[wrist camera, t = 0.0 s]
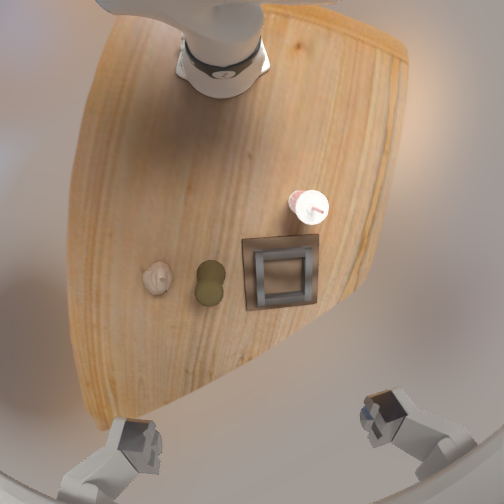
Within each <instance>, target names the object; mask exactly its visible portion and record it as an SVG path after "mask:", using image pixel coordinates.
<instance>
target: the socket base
mask: <svg viewBox="0 0 504 504" xmlns="http://www.w3.org/2000/svg"><path fill="white" fill-rule="evenodd" d="M242 243H243V259H244V274H245V289H246V304H247V311H249V310H260V309H270V308H280V307H289V306H297V305H306V304H314V303H317V291H318V266H319V234H307V235H292V236H277V237H263V238H250V239H242Z"/></svg>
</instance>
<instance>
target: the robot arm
mask: <svg viewBox="0 0 504 504" xmlns="http://www.w3.org/2000/svg"><path fill="white" fill-rule="evenodd" d="M95 1H96V2H97V3H98V4H99V5H100V6H101V7H102V8H103V9H104V10H106V11H107V12H109V13H111V14H113V15H130V16H141V17H147V18H151V19H155V20H158V21H161V22H164V23H166V24H169V25H171V26H173V27H175V28H177V29H178V30H180V31H181V32H182V34H181V39H182V40H183V43H182V45H181V47H180V55H179V59H178V63H177V67H176V74H177V75H178V76H179V77H181V78H183V79H185V80H188V81H189V82H190V83H191V85H192V86H193V87H194V88H195V89H196V90H197V91H199V92H200V93H202V94H204V95H206V96H209V97H213V98H230V97H234V96H237V95H239V94H241V93H243V92H245V91H246V90H248V89H249V88H250V87H251V86H252V85H253V83H254V82H255V81H256V79H257V78H258V77H259V76H260V75H262V74H264V73H265V72H267V71H268V70H269V69H270V63H269V59H268V56H267V53H266V50H265V47H264V44H263V41H262V38H261V32H262V29H263V25H264V21H265V17H264V12H263V9H262V7H261V5H260V4H277V5H290V6H291V5H327V4H328V5H330V4H336V3H337V2H339V1H341V0H95ZM264 61H265V62H264ZM181 66H182V67H181ZM364 404H365V406H364V407H363V408H362V409H361V412H360V421H361V424H362V427H363V429H364V430H366V431H368V432H369V434H368V439H369V441H370V443H371V445H372V446H373V448H376V447H379V446H382V445H385V444H387V443H390V442H392V444H394V445H395V446H397V447H398V448H400V449H402V450H403V451H405V452H406V453H408V454H410V455H411V456H413V457H415V458H416V459H418V460H420V461H422V462H423V463H422V464H421V465H420V466H419V467H418V468H417V470H416V472H415V474H416V475H417V477H418V479H419V481H420V482H418V483H416V484H414V485H412V486H410V487H408V488H406V489H404V490H402V491H399V492H397V493H395V494H393V495H390V496H388V497H386V498H383V499H381V500H378V501H376V502H373V503H370V504H504V425H502V426H501V427H500V428H499V429H498V430H497V431H495V432H494V433H493V434H492V435H491V436H489V437H488V438H487V439H485V440H484V441H483V442H482V443H480V444H479V445H478V444H477V443H476V442H475V441H474V439H473V438H472V436H471V435H470V434H469V432H468V431H467V430H466V429H465V428H464V426H462V425H459V424H456V423H454V422H451V421H449V420H446V419H443V418H441V417H438V416H436V415H433V414H431V413H428V412H426V411H423V410H420V411H419V410H418V409H417V408H416V406H415V405H414V404H413V402H412V401H411V400H410V398H409V397H408V395H407V394H406V393H405V391H404V390H403V389H402V388H401V387H400V386H397V387H394V388H391V389H389V390H385V391H381V392H378V393H376V394H372V395H369V396H367V397H366V398H365V400H364ZM155 427H156V426H155V423H154V422H153V421H151V420H140V419H131V418H123V417H116V418H115V419H114V420H113V423H112V426H111V429H110V432H109V435H108V438H107V442H106V445H105V448H104V447H101V448H99V449H98V450H97V451H96V452H94V453H93V454H92V455H90V456H89V457H88V458H86V459H85V460H84V461H83V462H81V463H80V464H78V465H77V466H76V467H75V468H73V469H72V470H70V471H69V472H68V473H66V474H65V475H64V477H63V480H62V483H61V487H60V490H59V492H58V496H57V499H54V498H52V497H50V496H47V495H45V494H43V493H41V492H38V491H37V490H35V489H32V488H30V487H28V486H27V485H25V484H23V483H21V482H19V481H17V480H15V479H14V478H12V477H10V476H8V475H7V474H5V473H3V472H2V471H0V504H118V503H116V502H115V501H114V500H115V499H116V498H117V497H118V496H119V495H120V494H121V492H122V491H123V490H124V489H125V488H126V487H127V486H128V485H129V484H130V483H131V482H132V481H133V479H134V478H135V477H136V476H137V475H138V474H139V473H147V474H159V468H160V460H159V458H158V455H160V454H161V453H162V439H161V435H160V433H159V432H158V431H157V430H155Z"/></svg>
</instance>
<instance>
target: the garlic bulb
mask: <svg viewBox="0 0 504 504" xmlns="http://www.w3.org/2000/svg"><path fill="white" fill-rule="evenodd" d="M172 279H173V275H172V272H171V270H170V268H169V266H168V265H167V264H165V263H164V262H161V261H159V262H155V263H153V264H152V265H151V266H149V267H148V268H147V269H146V271H144V273H143V277H142V280H143V284H144V285H145V287H146V289H147V290H148V291H149V292H150V293H151V294H154V295H159V294H161V293H164V292H167V289H168V288H169V286H170V283H171V282H172Z"/></svg>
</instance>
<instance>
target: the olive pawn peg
mask: <svg viewBox="0 0 504 504" xmlns="http://www.w3.org/2000/svg"><path fill="white" fill-rule="evenodd" d="M197 278H198V284H197V285H196V288H195V296H196V299H197V300H198V302H199V303H200V304H202V305H204V306H210V307H211V306H215V305H217V304H218V303H219V302H220V301H221V300H222V298H223V287H222V284H223V282H224V279H225V269H224V267H223V266H222V264H220V263H219V262H217V261H214V260H208V261H205V262H203V263H202V264H201V265H200V266H199V268H198V270H197Z"/></svg>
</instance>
